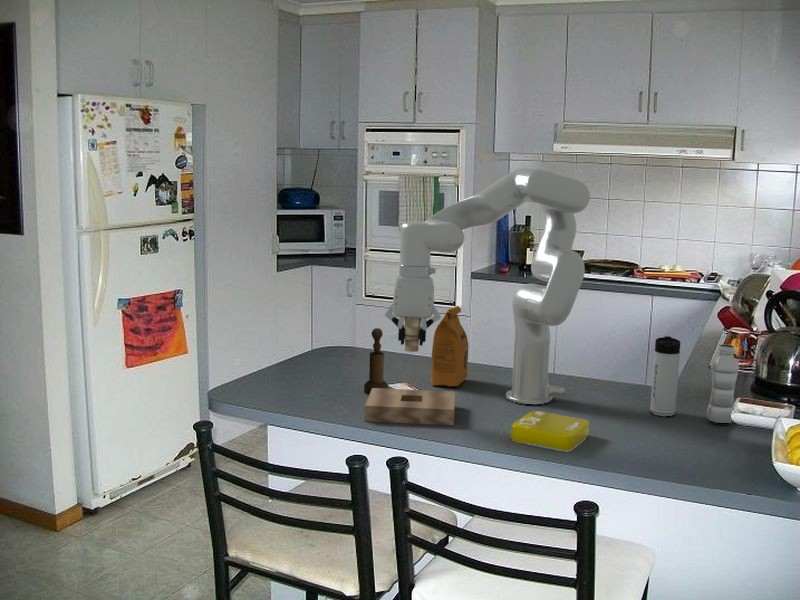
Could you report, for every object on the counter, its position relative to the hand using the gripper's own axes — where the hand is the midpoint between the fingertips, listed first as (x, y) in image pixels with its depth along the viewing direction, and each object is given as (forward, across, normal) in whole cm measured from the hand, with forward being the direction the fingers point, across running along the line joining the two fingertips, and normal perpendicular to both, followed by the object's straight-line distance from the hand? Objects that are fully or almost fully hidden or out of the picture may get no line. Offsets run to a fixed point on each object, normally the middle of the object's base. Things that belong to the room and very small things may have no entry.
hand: (411, 343), depth 219 cm
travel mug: (+18, -66, -10) cm, 69 cm away
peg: (+2, 0, 0) cm, 2 cm away
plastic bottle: (+18, -78, -4) cm, 81 cm away
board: (+18, 0, 0) cm, 18 cm away
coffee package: (+18, -10, -31) cm, 37 cm away
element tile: (+19, -34, +14) cm, 42 cm away
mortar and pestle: (+19, +10, -18) cm, 28 cm away
